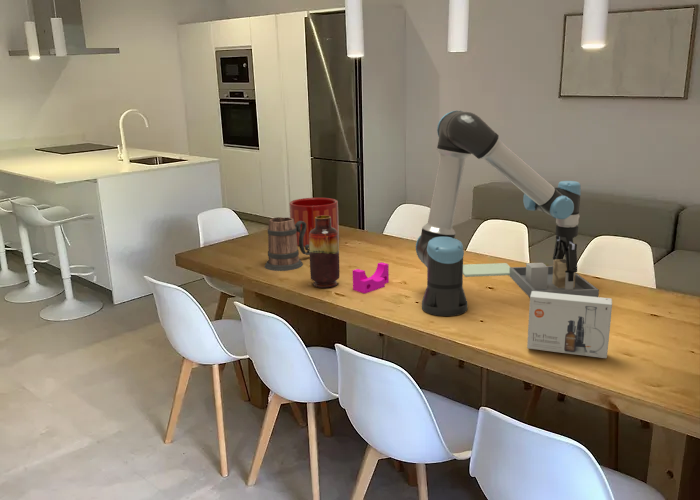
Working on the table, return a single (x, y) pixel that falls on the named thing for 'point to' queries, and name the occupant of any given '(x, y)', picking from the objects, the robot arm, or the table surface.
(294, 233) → the tankard
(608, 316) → the skincare box
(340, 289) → the table surface
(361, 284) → the toy block
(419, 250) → the robot arm
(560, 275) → the maple box
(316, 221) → the vase
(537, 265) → the grey box
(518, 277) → the parts bin
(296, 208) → the planter
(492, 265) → the mat
